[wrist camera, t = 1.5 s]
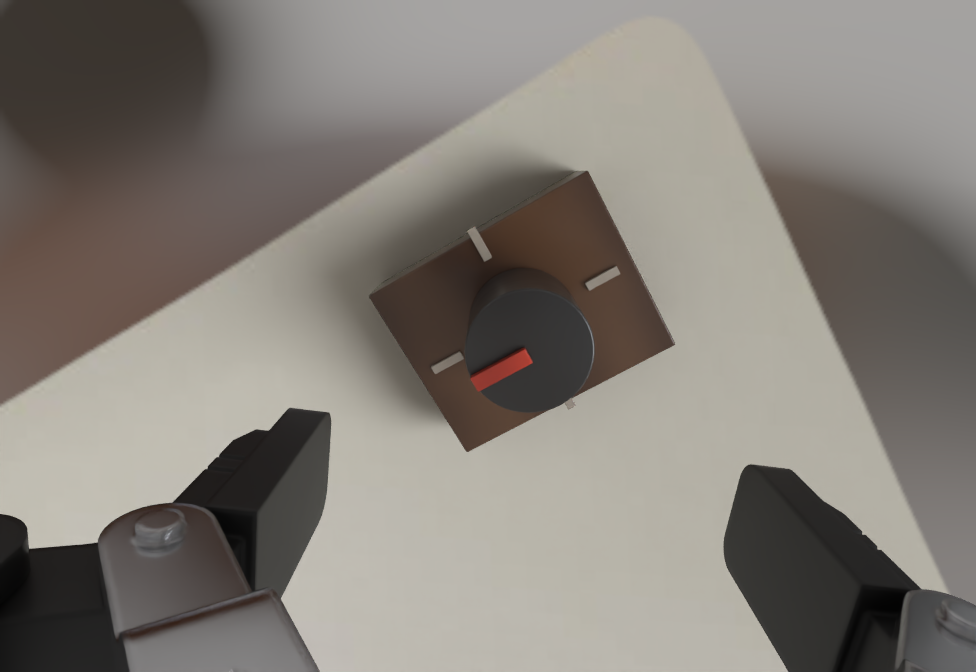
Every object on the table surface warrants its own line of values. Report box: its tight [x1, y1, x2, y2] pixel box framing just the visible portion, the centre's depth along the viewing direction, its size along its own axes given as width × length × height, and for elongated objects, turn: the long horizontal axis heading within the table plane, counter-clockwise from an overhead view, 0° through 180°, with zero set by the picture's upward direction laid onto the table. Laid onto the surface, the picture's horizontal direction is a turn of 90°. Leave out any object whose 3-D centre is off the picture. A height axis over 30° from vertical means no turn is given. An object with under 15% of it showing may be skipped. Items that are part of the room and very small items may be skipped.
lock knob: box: [464, 268, 595, 413], centre depth 22 cm, size 4×4×5 cm
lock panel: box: [369, 171, 675, 452], centre depth 26 cm, size 10×9×3 cm
